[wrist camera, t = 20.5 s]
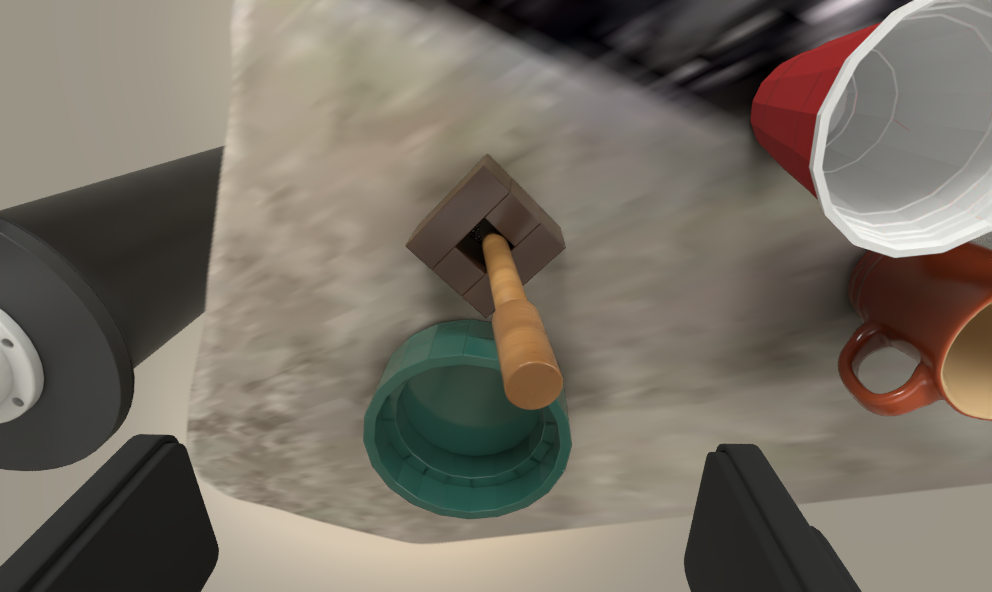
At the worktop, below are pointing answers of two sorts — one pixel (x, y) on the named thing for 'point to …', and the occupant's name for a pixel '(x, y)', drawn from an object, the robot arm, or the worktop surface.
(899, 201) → the plastic cup
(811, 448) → the worktop surface
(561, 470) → the bowl
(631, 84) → the worktop surface
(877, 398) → the mug
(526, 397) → the stick
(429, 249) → the holder
